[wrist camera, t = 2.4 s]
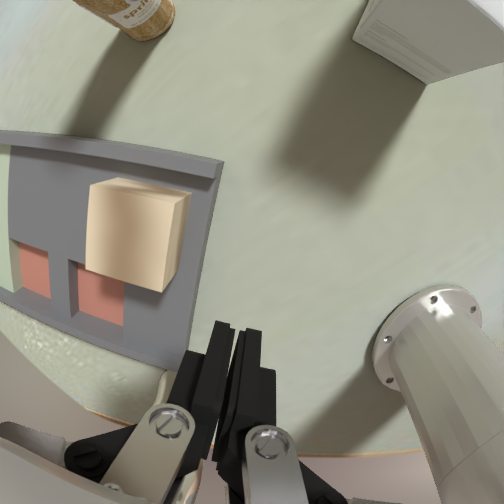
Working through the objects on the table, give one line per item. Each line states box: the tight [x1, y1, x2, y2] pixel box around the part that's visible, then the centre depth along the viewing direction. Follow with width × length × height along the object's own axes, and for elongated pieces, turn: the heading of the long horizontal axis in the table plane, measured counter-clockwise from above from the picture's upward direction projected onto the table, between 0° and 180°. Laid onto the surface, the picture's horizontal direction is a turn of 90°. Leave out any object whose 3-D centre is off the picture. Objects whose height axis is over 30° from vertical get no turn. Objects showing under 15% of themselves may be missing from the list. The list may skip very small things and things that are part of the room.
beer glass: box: [152, 370, 204, 504], centre depth 23 cm, size 7×7×15 cm
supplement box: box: [352, 0, 504, 85], centre depth 12 cm, size 7×7×13 cm
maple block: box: [86, 177, 192, 293], centre depth 20 cm, size 6×6×4 cm
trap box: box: [0, 130, 224, 372], centre depth 24 cm, size 26×18×3 cm
